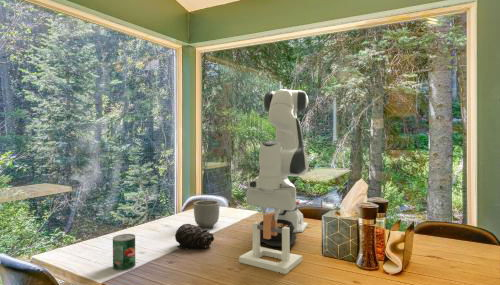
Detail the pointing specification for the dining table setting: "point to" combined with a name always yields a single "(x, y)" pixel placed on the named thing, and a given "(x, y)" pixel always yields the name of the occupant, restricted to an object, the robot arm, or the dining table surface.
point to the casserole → (279, 234)
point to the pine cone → (193, 237)
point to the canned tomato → (123, 252)
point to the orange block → (269, 225)
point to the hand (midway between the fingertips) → (270, 219)
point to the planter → (206, 213)
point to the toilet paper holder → (271, 252)
